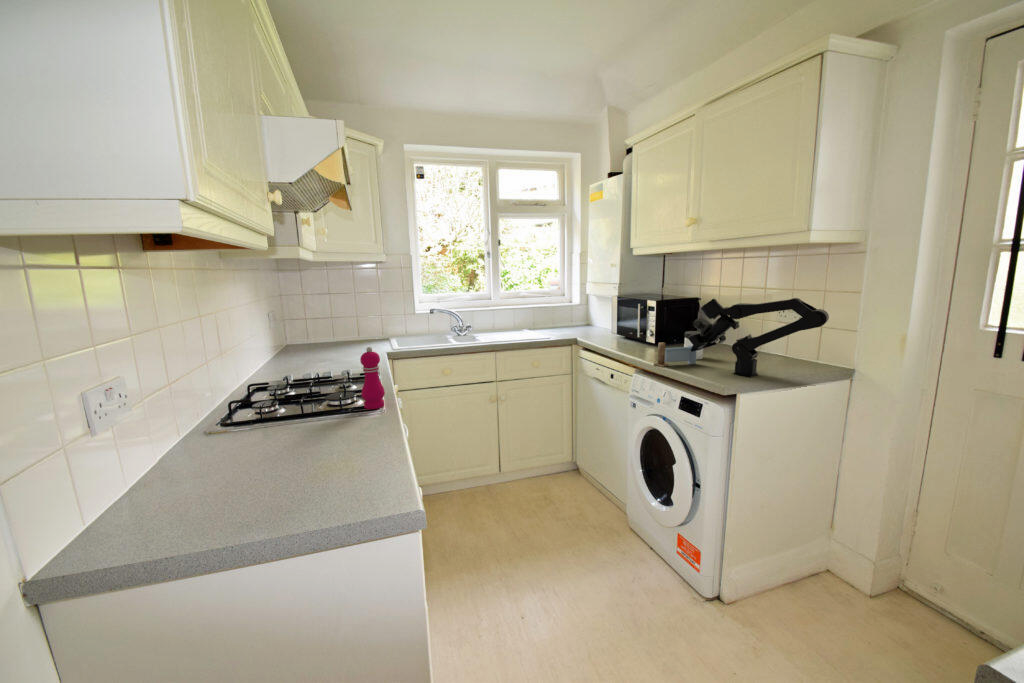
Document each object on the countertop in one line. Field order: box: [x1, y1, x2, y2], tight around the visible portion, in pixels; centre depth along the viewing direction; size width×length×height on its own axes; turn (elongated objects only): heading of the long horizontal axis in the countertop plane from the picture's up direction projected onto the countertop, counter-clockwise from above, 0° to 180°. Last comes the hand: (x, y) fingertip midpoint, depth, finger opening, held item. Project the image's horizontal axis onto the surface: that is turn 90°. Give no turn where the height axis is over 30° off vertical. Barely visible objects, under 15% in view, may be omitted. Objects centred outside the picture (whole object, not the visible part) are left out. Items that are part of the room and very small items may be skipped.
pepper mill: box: [360, 346, 386, 410], centre depth 135 cm, size 7×7×20 cm
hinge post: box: [653, 342, 670, 368], centre depth 179 cm, size 4×4×10 cm
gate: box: [665, 345, 697, 365], centre depth 180 cm, size 13×2×8 cm, turn 96°
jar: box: [683, 330, 704, 360], centre depth 192 cm, size 9×8×12 cm
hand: (694, 350), depth 178 cm, fingers open, 3 cm apart
